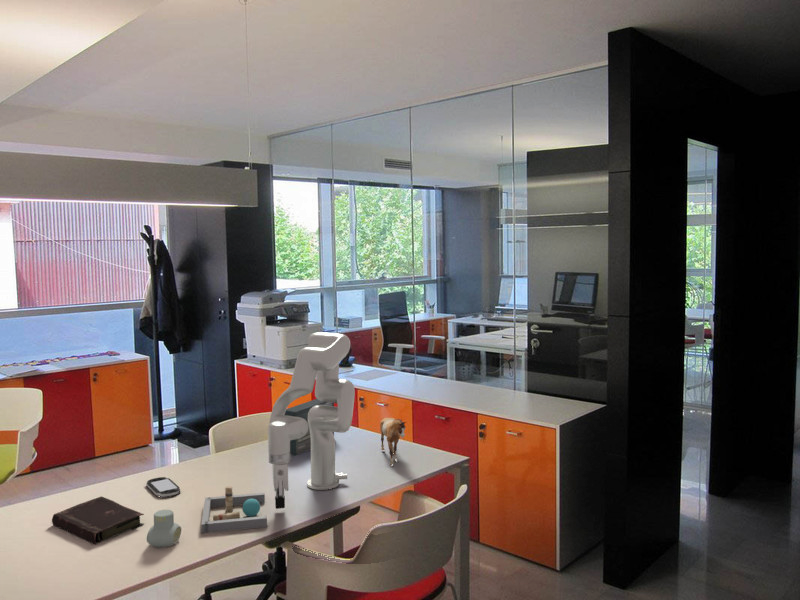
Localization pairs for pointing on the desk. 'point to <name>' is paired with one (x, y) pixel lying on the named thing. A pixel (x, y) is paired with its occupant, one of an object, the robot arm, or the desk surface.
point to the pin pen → (231, 523)
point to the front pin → (226, 516)
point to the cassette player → (302, 411)
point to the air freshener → (164, 530)
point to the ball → (251, 507)
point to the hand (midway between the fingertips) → (280, 507)
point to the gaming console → (163, 487)
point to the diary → (97, 519)
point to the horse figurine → (392, 433)
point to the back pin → (229, 499)
